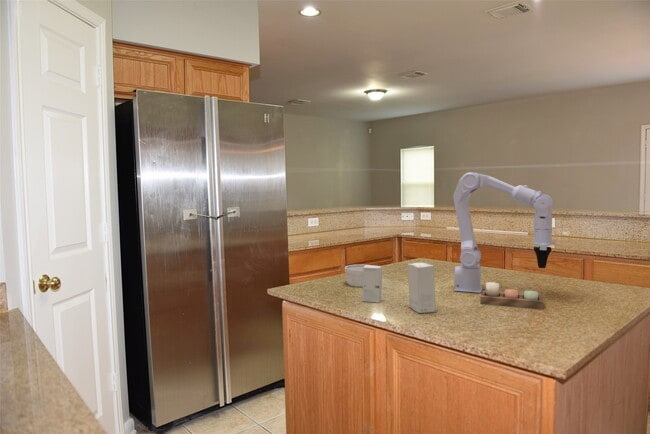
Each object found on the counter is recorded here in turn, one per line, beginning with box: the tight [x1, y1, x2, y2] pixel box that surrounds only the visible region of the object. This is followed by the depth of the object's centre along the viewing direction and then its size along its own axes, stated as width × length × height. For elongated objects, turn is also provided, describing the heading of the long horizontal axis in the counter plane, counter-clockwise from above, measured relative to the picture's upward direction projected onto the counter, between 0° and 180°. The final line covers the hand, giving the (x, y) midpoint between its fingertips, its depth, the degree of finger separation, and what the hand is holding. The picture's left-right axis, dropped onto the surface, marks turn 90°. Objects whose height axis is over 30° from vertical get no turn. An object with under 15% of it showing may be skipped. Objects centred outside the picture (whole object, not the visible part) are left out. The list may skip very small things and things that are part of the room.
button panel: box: [479, 290, 544, 310], centre depth 153 cm, size 19×9×2 cm, turn 67°
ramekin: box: [344, 264, 366, 288], centre depth 185 cm, size 13×13×7 cm
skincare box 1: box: [362, 264, 383, 303], centre depth 158 cm, size 6×4×12 cm
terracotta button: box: [504, 288, 519, 298], centre depth 153 cm, size 4×4×4 cm
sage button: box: [523, 290, 539, 300], centre depth 151 cm, size 4×4×4 cm
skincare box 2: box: [407, 261, 437, 314], centre depth 147 cm, size 8×6×15 cm
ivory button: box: [485, 281, 500, 297], centre depth 155 cm, size 4×4×4 cm
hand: (541, 267), depth 160 cm, fingers closed
